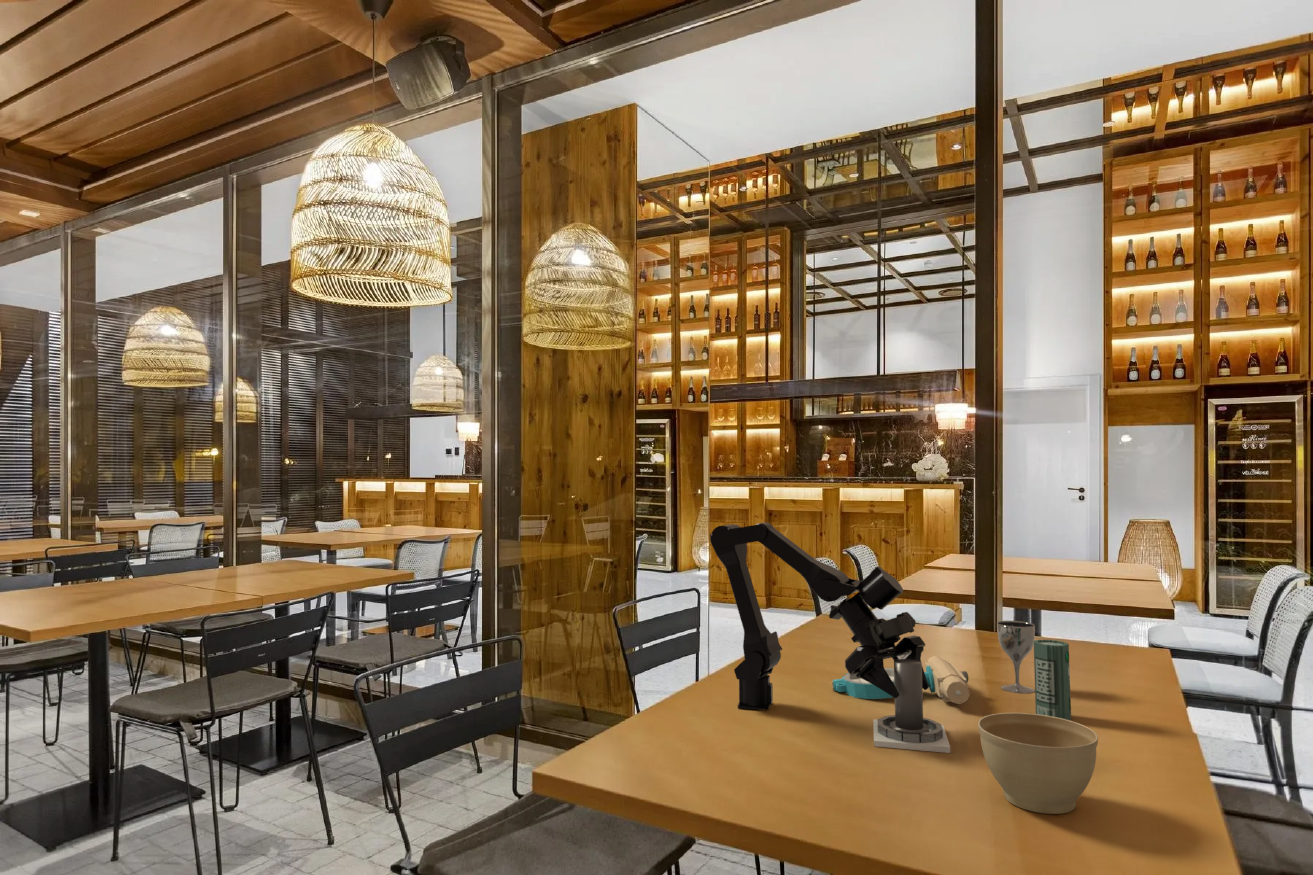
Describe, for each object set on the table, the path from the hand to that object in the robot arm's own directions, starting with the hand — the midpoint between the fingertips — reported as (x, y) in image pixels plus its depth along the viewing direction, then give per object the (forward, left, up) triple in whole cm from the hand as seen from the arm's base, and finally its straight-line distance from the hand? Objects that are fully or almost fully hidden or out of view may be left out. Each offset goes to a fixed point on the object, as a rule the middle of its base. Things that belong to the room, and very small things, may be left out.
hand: (912, 692), depth 142 cm
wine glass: (+25, +43, -9) cm, 50 cm away
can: (+28, +22, -9) cm, 37 cm away
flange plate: (-1, +1, -9) cm, 9 cm away
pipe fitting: (-1, +1, -7) cm, 8 cm away
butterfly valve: (-1, +32, -9) cm, 33 cm away
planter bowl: (+16, -24, -9) cm, 31 cm away
